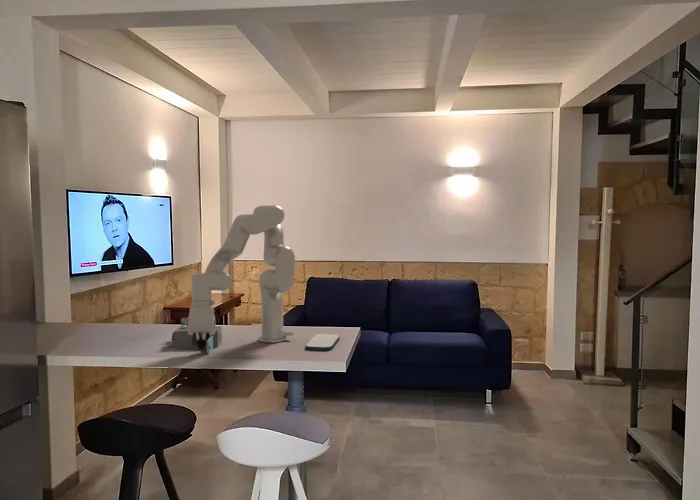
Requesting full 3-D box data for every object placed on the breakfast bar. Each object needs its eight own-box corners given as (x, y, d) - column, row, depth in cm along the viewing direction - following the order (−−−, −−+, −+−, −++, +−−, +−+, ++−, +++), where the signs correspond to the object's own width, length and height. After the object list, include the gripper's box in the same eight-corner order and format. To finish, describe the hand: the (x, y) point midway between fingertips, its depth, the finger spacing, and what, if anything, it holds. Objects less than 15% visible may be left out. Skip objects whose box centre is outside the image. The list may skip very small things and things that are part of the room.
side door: (211, 347, 211) (211, 335, 211) (215, 347, 211) (214, 335, 211) (206, 353, 201) (206, 341, 200) (210, 353, 201) (210, 341, 200)
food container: (193, 340, 223) (193, 318, 222) (181, 340, 224) (180, 318, 223) (206, 334, 235) (206, 313, 234) (194, 334, 236) (194, 312, 235)
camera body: (221, 341, 221) (221, 323, 220) (217, 347, 211) (217, 328, 211) (176, 342, 219) (175, 324, 219) (170, 348, 210) (169, 329, 209)
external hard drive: (316, 337, 231) (316, 333, 230) (341, 338, 229) (341, 334, 229) (303, 351, 207) (303, 346, 207) (330, 352, 205) (330, 347, 205)
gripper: (222, 302, 205) (222, 346, 206) (185, 302, 205) (185, 346, 206) (218, 305, 198) (218, 351, 199) (180, 305, 197) (180, 351, 198)
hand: (201, 348), depth 202 cm, fingers closed
